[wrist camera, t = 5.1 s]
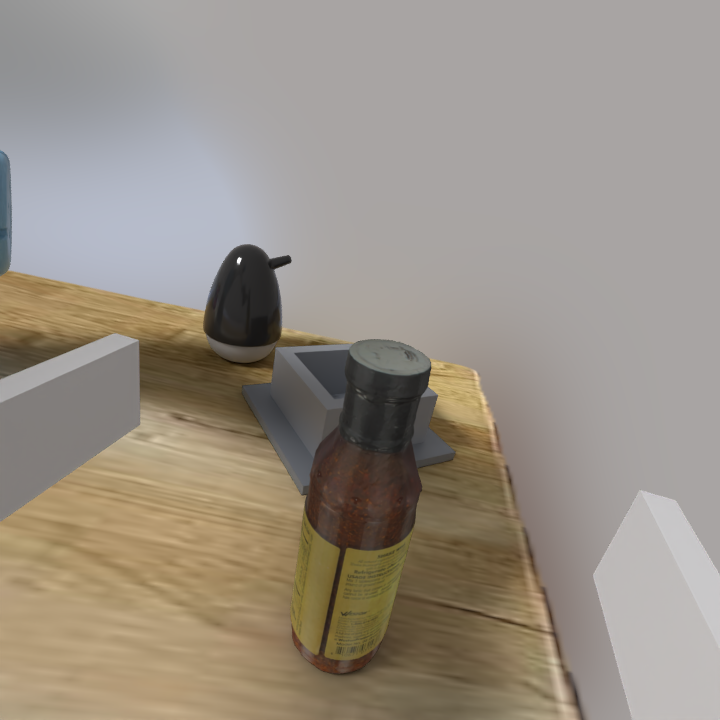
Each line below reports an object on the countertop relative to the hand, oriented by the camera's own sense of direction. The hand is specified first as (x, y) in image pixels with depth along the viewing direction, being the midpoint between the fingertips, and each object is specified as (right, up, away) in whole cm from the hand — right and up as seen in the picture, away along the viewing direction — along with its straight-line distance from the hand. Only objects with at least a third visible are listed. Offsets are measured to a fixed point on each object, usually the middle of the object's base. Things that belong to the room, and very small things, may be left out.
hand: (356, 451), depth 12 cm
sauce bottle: (-2, -15, +18) cm, 24 cm away
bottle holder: (-2, -5, +40) cm, 40 cm away
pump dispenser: (-16, +3, +51) cm, 53 cm away
